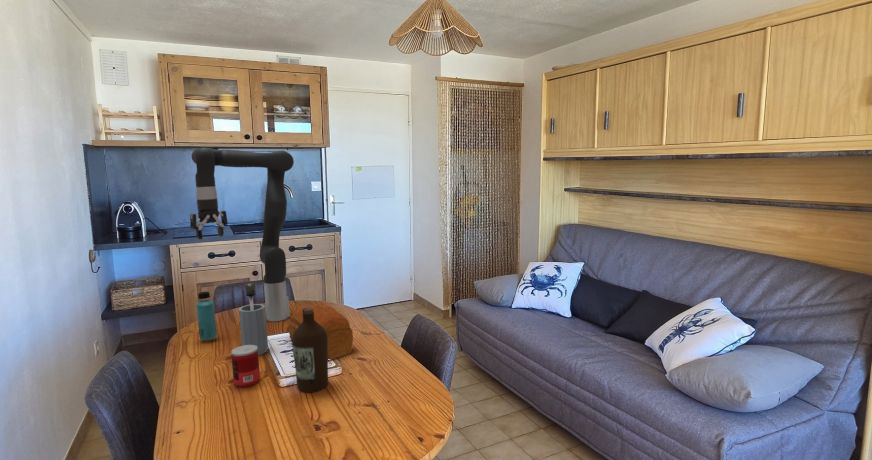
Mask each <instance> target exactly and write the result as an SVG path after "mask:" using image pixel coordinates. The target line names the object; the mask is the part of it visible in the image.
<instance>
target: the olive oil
mask: <svg viewBox="0 0 872 460" xmlns="http://www.w3.org/2000/svg"><path fill="white" fill-rule="evenodd" d="M291 347H292V352H293V361H294V367H295V377H296V386H297V390H299V391H300V392H303V393H316V392H318V391H322V390H323V389H325V388H326V387H328V385H329V371H328V367H329V365H328V362H329V360H328V338H327V333H326V331H325V329H324V328H323V327H322V326H321V325H320V324H319V323H317V322H316V321H315V320H314V312H313V308H311V307H307V308H304V309H303V322H302V323H301V324H300V325H299V326H298V328H297V329H296V330H295V332H294V334H293V337H292V340H291Z"/></svg>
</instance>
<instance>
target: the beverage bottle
mask: <svg viewBox="0 0 872 460" xmlns="http://www.w3.org/2000/svg"><path fill="white" fill-rule="evenodd" d="M197 294H198V297H197V299H199V301H198V302H196V303H195V306H196V314H197V322H198V336H199V339H200V340H201V341H209V340H213V339H215V338H217V336H218V330H217V322H216V316H215V315H216V314H215V307H214V306H215V305H214V301H213V300H211V299H210V297H211V294H210V292H209V291H202V292H199V293H197Z"/></svg>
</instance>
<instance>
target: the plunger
mask: <svg viewBox="0 0 872 460" xmlns="http://www.w3.org/2000/svg"><path fill="white" fill-rule="evenodd" d="M244 293H245V297H249V298H248V299H249V305H250V311H251V310H254V306H253V304H254V297H253V296H256V295H257V290H256V283H255V282H250V283H245V284H244Z"/></svg>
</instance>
